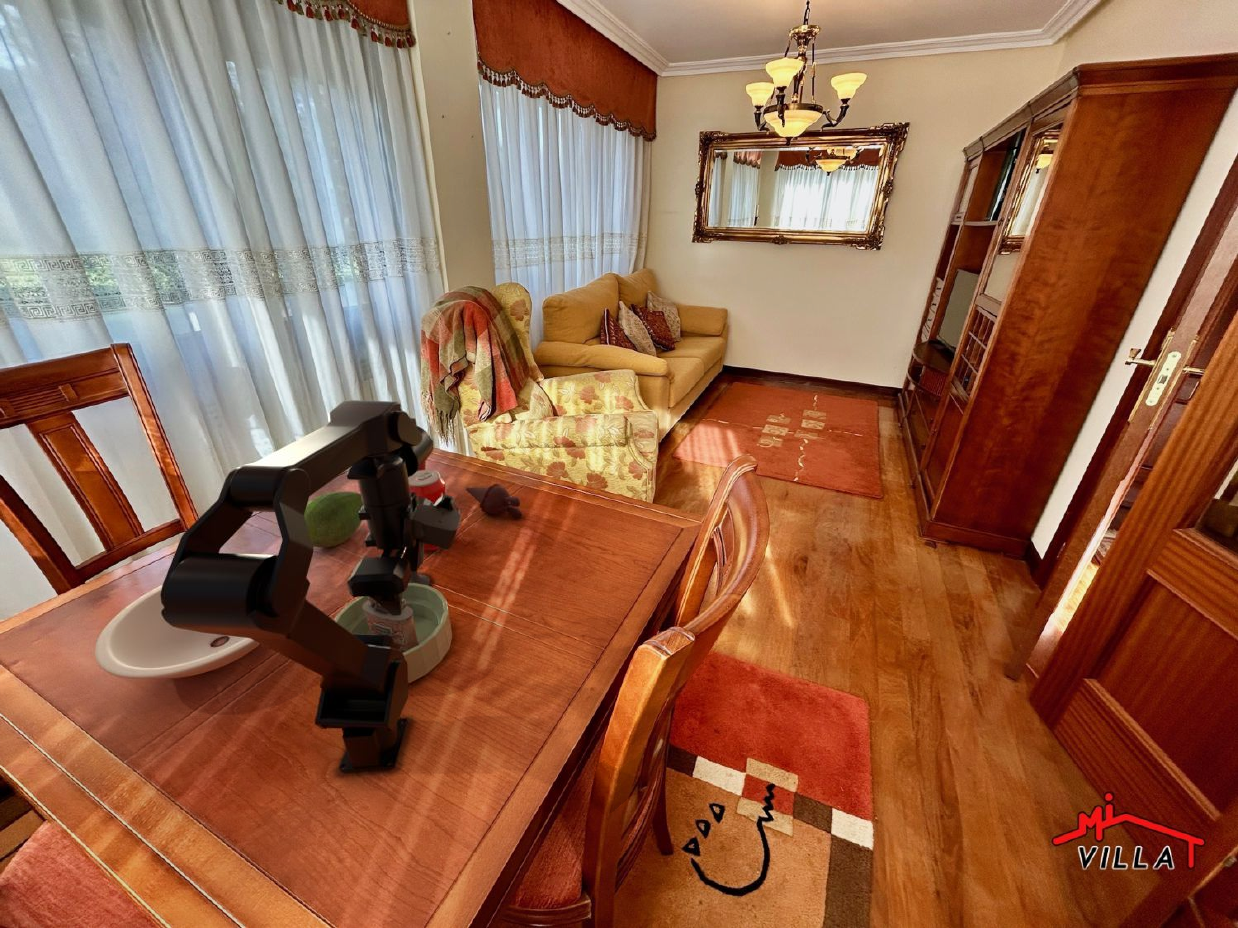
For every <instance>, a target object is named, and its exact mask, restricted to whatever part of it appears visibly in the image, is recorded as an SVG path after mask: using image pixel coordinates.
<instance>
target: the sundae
mask: <svg viewBox="0 0 1238 928" xmlns="http://www.w3.org/2000/svg"><path fill="white" fill-rule="evenodd" d="M424 560H425V550H424V543H421V545H420V554H419V563H418V569H419V568H420V567H421V566H422V565H423V563H424ZM410 574H412V576H411V578H410V581H409V583H417V584H423V585H428V586H430V584H431V578H430V577H429V576H427V575H424V574H418V570H417V571H412V572H411V571H410Z"/></svg>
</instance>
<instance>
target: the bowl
mask: <svg viewBox="0 0 1238 928" xmlns="http://www.w3.org/2000/svg"><path fill="white" fill-rule="evenodd" d="M402 599H404V600H405V601H406V605H407V606H408V607H410V608H411V609H412V610H413V622H414V627H415V632H416V637H417V641H418V642H419V645H418V646H416V647H414V648H412V649H410V650H408V651H406V652H404V653H403V655H404V658H405V659H404V660H406V661H407V665H408V684H411V683H413V682H415V681H417V680H418V679H420V678H422V677H424V676H426V675H428V673H430V672H431V671H432V670H433V669H435V668H436V666H438V664H441V662H442V660H443V659H444V657H445V656H446V654H447V653H448V651H449V650H450V648H451V643H452V639H453V631H452V625H451V620H450V612H449V607H448V601H447V598H446V597H445V596H444V595H443V594H442V593H441V591H440V590H437V589H436V588H434V587H432V586H430V585H429V586H428V585H423V584H417V583H409V584H408V586H407V588H406V590H405V591H404V592H402ZM367 600H369V599H368V596H364V597H356V599H354V600H353V601H351V602H349V603H348V604H347V605H346V606H345V607H344V608H342V610H341V611H339V613H337V615H336V616H335V618H334V619H333V620H334V621H335V622H337V623H338V624H339V625H341V626H342V627H343V628H345V629H346V630H347V631H349V632H350V633H351V634H371V633H370V629H369V625H368V622H367V618H366V614H365V613H364V612H363V608H362V606H363V604H364V603H365V602H366V601H367Z"/></svg>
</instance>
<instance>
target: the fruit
mask: <svg viewBox="0 0 1238 928" xmlns="http://www.w3.org/2000/svg"><path fill="white" fill-rule="evenodd" d="M362 506H363V503H362V499H361V494H360V492H356V491H347V490H343V491H342V490H341V491H331V492H325V493H323V494H320V495H319V496H316V497H315V498H313V499H311V500H310V501H308V503H307V506H306V510H305V513H304V518H305V521H306V524H307V528H308V531H309V534H310V538H311V541H312V544H313V548H323V549H324V548H330V547H336V546H338V545H340V544H343V543H345V542H346V541H347V540H348V539H350V538H351V537H352V536H353V534H354V533H355V532H356V531H357V530H358V529H359V527H360V526H361V524H362V522H363V520H360V519H359V515H358V513H359V511H360V510H361V508H362Z"/></svg>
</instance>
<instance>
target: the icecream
mask: <svg viewBox="0 0 1238 928" xmlns="http://www.w3.org/2000/svg"><path fill="white" fill-rule="evenodd" d="M465 490H466V491H467V492H468V493H469V495H471V496H472V497H473V498H474V499H475V500H476V501H477V502H478V503H479V509H481V512H483V513H485V514H490V515H501V514H504V513H506V512H507V513H508V514H509V515H511V516H513V517H514V518H517V519H522V518H523V512H522V511H521V510H520V509H519V508H518V507H519V506H520V505H521V500H520V498H519V497H517V496H514V495H513V496H511V495H510V492H509V491H508V490H507V489H506V488H505V487H503V486H502V485H500V484H498V483H494V484H493V485H491V486H487V487H486V486H484V487H483V486H481V487H480V486H479V487H466V488H465Z"/></svg>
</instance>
